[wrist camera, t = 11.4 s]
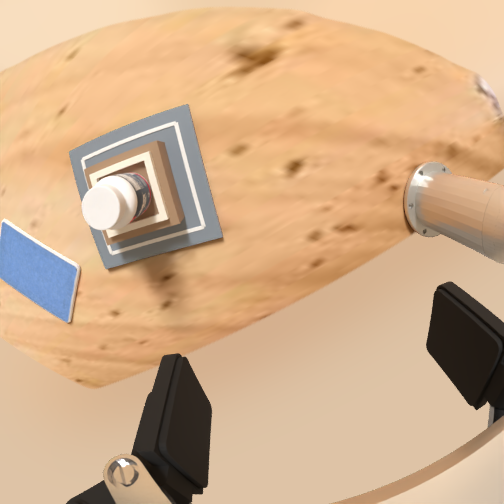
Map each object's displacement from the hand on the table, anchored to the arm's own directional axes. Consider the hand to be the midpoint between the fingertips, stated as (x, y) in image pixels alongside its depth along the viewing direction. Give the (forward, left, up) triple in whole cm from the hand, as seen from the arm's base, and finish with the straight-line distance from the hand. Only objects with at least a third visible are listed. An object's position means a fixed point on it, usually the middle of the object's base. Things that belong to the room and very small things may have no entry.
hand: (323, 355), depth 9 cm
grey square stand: (+14, -6, -29) cm, 32 cm away
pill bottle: (+13, -6, -24) cm, 28 cm away
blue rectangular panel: (+38, 0, -29) cm, 48 cm away
